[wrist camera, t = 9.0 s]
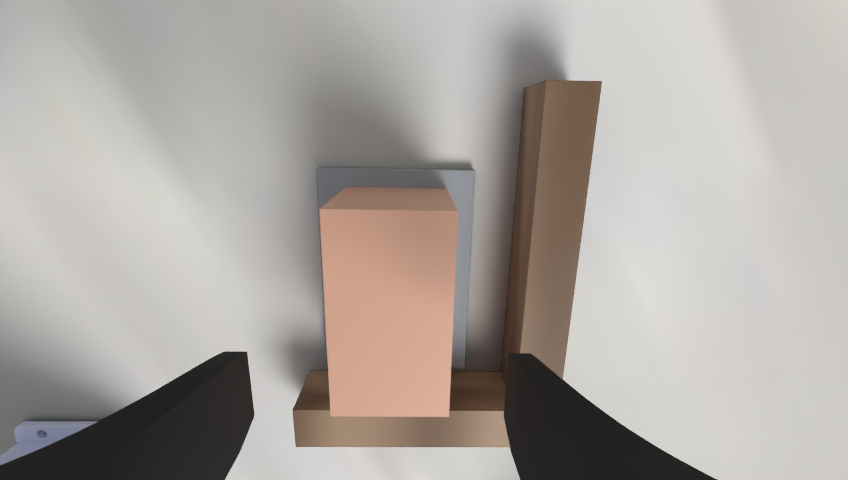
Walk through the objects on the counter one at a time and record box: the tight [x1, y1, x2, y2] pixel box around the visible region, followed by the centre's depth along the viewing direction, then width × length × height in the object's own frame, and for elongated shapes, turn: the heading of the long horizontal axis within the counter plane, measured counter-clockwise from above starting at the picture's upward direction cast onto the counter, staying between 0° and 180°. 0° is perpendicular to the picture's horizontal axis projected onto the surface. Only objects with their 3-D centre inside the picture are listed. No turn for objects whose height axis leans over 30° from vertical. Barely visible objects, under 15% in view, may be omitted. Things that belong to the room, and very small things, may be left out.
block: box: [319, 187, 458, 417], centre depth 16 cm, size 8×4×5 cm, turn 179°
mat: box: [316, 167, 475, 368], centre depth 19 cm, size 7×10×1 cm
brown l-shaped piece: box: [293, 80, 602, 447], centre depth 18 cm, size 12×16×3 cm
